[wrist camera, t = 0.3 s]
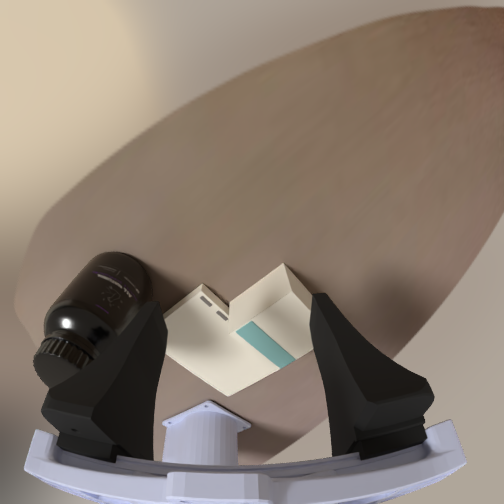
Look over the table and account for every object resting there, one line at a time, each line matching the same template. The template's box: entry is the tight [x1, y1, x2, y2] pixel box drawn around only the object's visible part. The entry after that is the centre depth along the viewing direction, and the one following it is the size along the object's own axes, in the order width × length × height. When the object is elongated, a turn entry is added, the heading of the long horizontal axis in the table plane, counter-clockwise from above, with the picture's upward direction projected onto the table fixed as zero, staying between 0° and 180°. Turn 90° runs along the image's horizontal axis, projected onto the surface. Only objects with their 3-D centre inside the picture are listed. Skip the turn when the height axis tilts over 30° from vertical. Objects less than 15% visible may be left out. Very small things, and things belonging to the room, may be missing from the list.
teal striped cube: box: [229, 263, 314, 372], centre depth 25 cm, size 6×6×5 cm
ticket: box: [163, 283, 275, 396], centre depth 28 cm, size 8×12×1 cm, turn 40°
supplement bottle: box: [33, 252, 153, 388], centre depth 20 cm, size 7×7×12 cm
